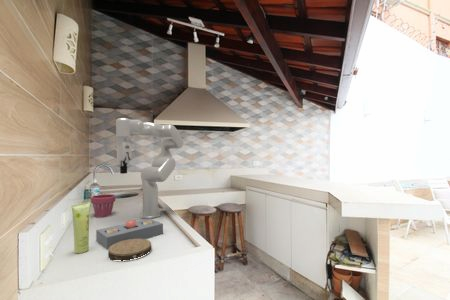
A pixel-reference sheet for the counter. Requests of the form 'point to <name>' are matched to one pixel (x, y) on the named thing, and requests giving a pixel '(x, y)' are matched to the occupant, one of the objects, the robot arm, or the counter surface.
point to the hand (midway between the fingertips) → (123, 173)
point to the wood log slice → (129, 249)
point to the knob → (112, 231)
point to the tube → (81, 226)
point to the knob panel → (128, 232)
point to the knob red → (130, 224)
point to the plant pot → (103, 204)
